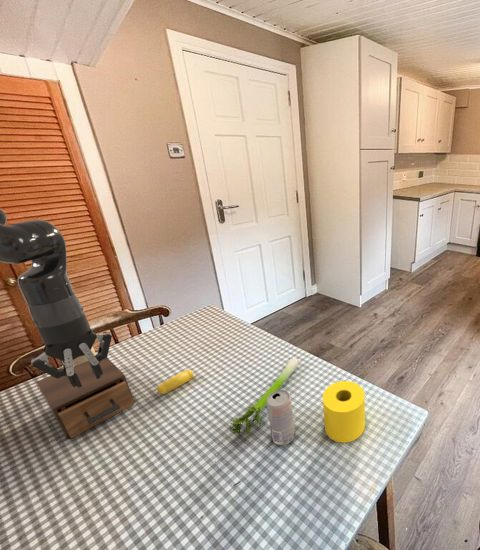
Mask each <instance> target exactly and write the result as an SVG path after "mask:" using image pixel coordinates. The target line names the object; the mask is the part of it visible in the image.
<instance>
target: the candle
mask: <svg viewBox="0 0 480 550" xmlns="http://www.w3.org/2000/svg"><path fill="white" fill-rule="evenodd" d="M91 352H92V353H93V354H94V356H95V355H97V353H96V351H95V348H94V347H93V346H92V348H91ZM87 361H89V360H88V359H87V357H86V356H85V355H84V356H80V357H77V358H76V359H74V360H73V367H74V366H77V365H79V364H82V363H84V362H87Z"/></svg>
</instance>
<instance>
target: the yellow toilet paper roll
mask: <svg viewBox="0 0 480 550" xmlns="http://www.w3.org/2000/svg"><path fill="white" fill-rule="evenodd" d="M365 399H366V394H365V390H364V388H363V387H362V386H361V385H360V384H358V383H356V382H354V381H351V380H340V381H336V382H333V383H331V384H330V385H328V386H327V387H326V388H325V390H324V391H323V393H322V406H323V407H322V409H323V410H322V411H323V423H324V430H325V431H324V432H325V434H326V436H328V438H329V439H330V440H332V441H334V442H336V443H352V442H354V441H356V440H357V439H359V438H360V437H361V436H362V434H363V433H364V431H365V429H366V400H365Z"/></svg>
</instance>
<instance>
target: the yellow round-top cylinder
mask: <svg viewBox="0 0 480 550" xmlns="http://www.w3.org/2000/svg"><path fill="white" fill-rule="evenodd" d="M194 375H195V374H194V371H193V370H191V369H186V370H183V371H181V372H179V373H178V374H176V375H174V376H172V377H170V378H168V379H166V380H165V381H162V382H161V383H159V385H157V388H156V389H157V393H158V394H160V395H166V394H169V392H172V391H173V390H175V389H177V388H179V387H180V386H182V385H184V384H186V383H187V382H189V381H191V380H192V379H193V378H194Z"/></svg>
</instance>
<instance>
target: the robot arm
mask: <svg viewBox="0 0 480 550" xmlns="http://www.w3.org/2000/svg"><path fill="white" fill-rule="evenodd" d="M7 222H8V216H7V213H6V212H5V211H4V210H3V209H2V208H0V262H1V263H4V264H11V265H20V264H25V263H28V262H31V265H30V267H29V268H28V269H27V270H26V271H25V272H23V273H22V274H20V275H19V276H18V277H17V281H16V282H17V285H18V288H19V290H20V292H21V295H22V296H23V299H24V300H25V303H26V305H27V307H28V312H29V315H30V317H31V319H32V322H33V325H34V326H35V328H36V330H37V331H38V334H39V336H40V338H41V341H42V342H43V344H44V348H43V352H42V353H41V354H39V355H38V356H34V357H32V358H31V359H30V363H31V366H33V367H34V368H35V369H37V370H39V371H41V372H43V373H45V374H47V375H49V376H52V377H54V378H57V379H58V378H61V377H62V376H67V377H68V379H69V381H70V383H71V385H72V386H73V387H76V386H77V387H78V388H79V387H82V385H81V382H80V380H79V378H78V376H77V374H76V372H75V371H74V368H73V367H74V366H73V360H74V359H76V358H77V357H80V356H84V355H85V356H86V357H87V359H88V360H89V361H90V363H89V364H90V367H91V369H92V371H93V374H94V376H95V377H96V379H99V378H101V377H100V375H102V374H103V372H102V369H101V367H100V364H99V363H100V361H101V360H103V359H106V358H108V355H109V351H110V347H111V341H112V337H113V336H112V335H111V334H110V332H109V331H103V332H102V333H101V332H100V333H96V332H95V331H93V330H92V328H91V326H90V324H89V322H88V318H87V316H86V314H85V311H84V307H83V305H82V303H81V302H80V300H79V297H78V296H77V295H76V293H75V291H74V289H73V285H72V284H71V281H70V279H69V276H68V261H67V260H68V259H67V258H68V257H67V244H66V239H65V237H64V235H63V233H62V232H61V231H60V230H59V229H58V227H57V226H56V225H54V224H53V223H51V222H49V221H47V220H44V219H31V220H26V221H21V222H16V223H11V224H7ZM96 340H97V342H99V344H98V348H97V353H96V355H95V356H94V354H93V353H92V352H91V348H92V347H93V346H94V345H95V342H96ZM49 357H50V358H54V359H56V360H59V361H61V363H62V367H63V368H57V367H55V366H54V365H52V364H50V360H49Z"/></svg>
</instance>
